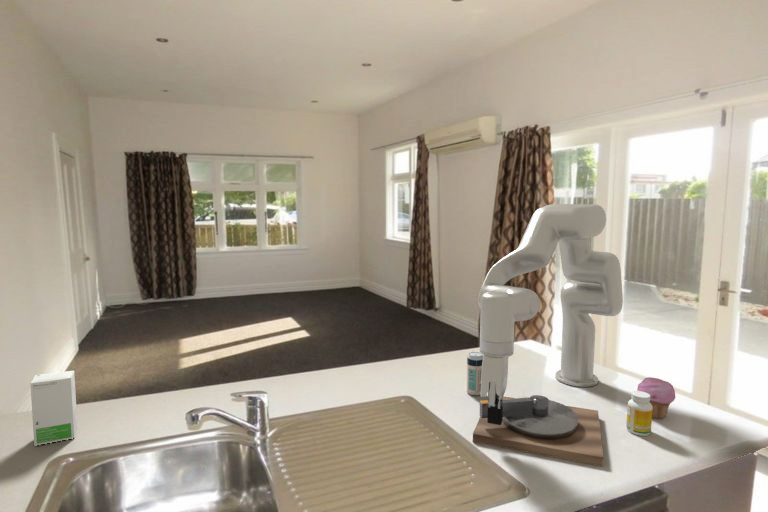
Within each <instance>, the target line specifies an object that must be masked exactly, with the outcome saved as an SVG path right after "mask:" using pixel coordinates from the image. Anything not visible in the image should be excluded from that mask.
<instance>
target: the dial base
mask: <svg viewBox="0 0 768 512" xmlns="http://www.w3.org/2000/svg"><path fill="white" fill-rule="evenodd" d="M509 399H516V397H510V396H509V397H508V396H505V395H504V396H503V398H502V400H509ZM566 406H567V407H569V408H570V409H572V410H573V411H574V412H575V413H576V414H577V416H578V428H577V431H576V432H575V433H574V434H572V435H570V436H568V437H564V438H558V439H544V438H536V437H531V436H527V435H524V434H521V433H519V432H516V431H514V430H512V429H511V428H509V427H508V426H507V425H506V424H505V423H504V422H503V421H502V424H501V425H497V424H491V423H488V422H487V418H481V417H480V416H479V418H478V421H477V423H476V425H475V428H474V430H473V432H472V442H474V443H477V444H478V443H479V444H483V445H487V446H494V447H500V448H504V449H510V450H514V451H515V450H516V451H520V452H525V453H530V454H531V453H532V454H536V455H541V456H547V457H550V458H551V457H552V458H557V459H561V460H562V459H563V460H565V461H566V460H567V461H573V462H576V463H577V462H579V463H583V464H588V465H592V466H593V465H594V466H599V467H604V452H603V451H604V450H603V444H602V434H601V433H602V432H601V427H600V426H601V425H600V416H599V410H597V409H590V408H583V407H576V406H570V405H566Z"/></svg>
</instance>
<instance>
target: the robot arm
mask: <svg viewBox="0 0 768 512" xmlns="http://www.w3.org/2000/svg"><path fill="white" fill-rule="evenodd" d="M606 224H607V215H606V210H605V209H604V208H603V207H602V206H601V205H599V204H594V203H592V204H591V203H590V204H589V203H588V204H586V203H580V204H579V203H578V204H572V203H570V204H569V203H554V204H553V203H552V204H546V205H545V206H542V207H538V208H537V209H536V210H535V211H534V212H533V214H532V216H531V218H530V219H529V222H528V224H527V227H526V229H525V230H524V234H523V235H522V238H521V240H520V243H519V244H518V247H517V248H516V249H514V250H513V251H511V252H510V253H508V254H507V255H505V256H504V257H502V258H501V259H500V260H498V261H497V262H496V263H495V264H493V265H492V266H491V268H490V269H489V270H488V272H487V274H486V276H485V278H484V280H483V282H482V285H481V286H480V289H479V293H478V297H477V304H478V307H479V309H480V315H479V316H480V318H479V319H480V321H479V353H481V354H482V355H483V362H482V373H481V391H480V395H479V396H480V398H482V399H484V398H486V396H487V400H488V416H487V422H488V423H491V424H497V425H501V424H502V417H503V406H501V405H502V398H503V396H504V397H505V393H506V390H507V386H508V376H509V375H508V374H509V358H510V357H511V356H512V357H513V355H514V349H515V345H514V343H515V322H524V321H525V322H526V321H529V320H531V319H533V318H534V317H535V316H537V314H538V312H539V309H540V303H541V302H540V297H539V296H538V293H536V292H535V291H534V290H532V289H529V288H525V287H516V286H512V285H511V286H510V285H505V284H506V283H507V282H509V281H510V280H511V279H513V278H516V277H518V276H521V275H524V274H527V273H531V272H534V271H538V270H541V269H543V268H545V267H547V266H549V264H550V263H551V260H552V257H553V255H554V252H555V250H556V248H557V245H558V246H559V255H560V261H561V262H560V263H561V270H562V273H563V276H564V277H565V279H567V280H569V281H567V282H566V283H564V284H563V285H562V287H561V289H560V294H559V297H560V303H561V310H562V312H561V313H562V331H561V353H560V354H561V358H560V369H559V370H557V371H556V372H555V375H554V376H555V378H556V380H557V381H559V382H560V383H562V384H565V385H568V386H573V387H580V388H581V387H583V388H587V387H588V388H589V387H590V388H591V387H593V386H596V385H598V384H599V377H598V376H597V375H595V374H594V367H595V364H594V362H595V346H596V345H595V344H596V325H595V322H594V320H593V318H592V317H591V315H597V316H598V315H599V316H603V317H604V316H605V317H616V316H618V315H619V314H620V312H621V311H622V308H623V303H624V302H623V301H624V300H623V299H624V298H623V297H624V296H623V283H622V281H623V280H622V270H621V269H622V268H621V263H620V259H619V257H618V256H617V255H616V254H615V253H613V252H609V251H597V250H593V249H592V248H591V241H590V239H591V238H594V237H597V236H599V235H600V234H602V232H603V230H604V229H605V227H606Z"/></svg>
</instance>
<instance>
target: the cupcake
mask: <svg viewBox="0 0 768 512" xmlns="http://www.w3.org/2000/svg"><path fill="white" fill-rule="evenodd" d="M636 391H642V392H646V393H648V394H649V395H650V403H651V404H652V406H653V411H652V419H663V418H665V417H667V414H668V410H669V406H670V405H671V404H672V403H673V402H674V401H675V400H676V390H675V387H674V385H673V384H672V383H670V382H669V381H666V380H663V379H660V378H656V377H650V376H648V377H644V379H642V381H641V382H640V383H638V384H637V390H636Z"/></svg>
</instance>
